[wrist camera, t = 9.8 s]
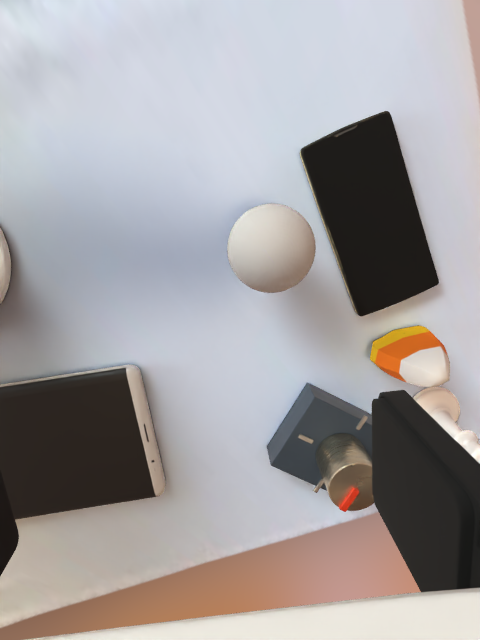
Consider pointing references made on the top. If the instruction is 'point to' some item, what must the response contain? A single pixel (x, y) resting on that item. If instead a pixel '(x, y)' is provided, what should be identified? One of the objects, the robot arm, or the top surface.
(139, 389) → the tablet
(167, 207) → the top surface
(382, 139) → the smartphone
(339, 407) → the control panel
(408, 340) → the candy corn
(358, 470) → the dial knob
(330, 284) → the top surface
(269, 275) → the light bulb
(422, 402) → the chess piece
